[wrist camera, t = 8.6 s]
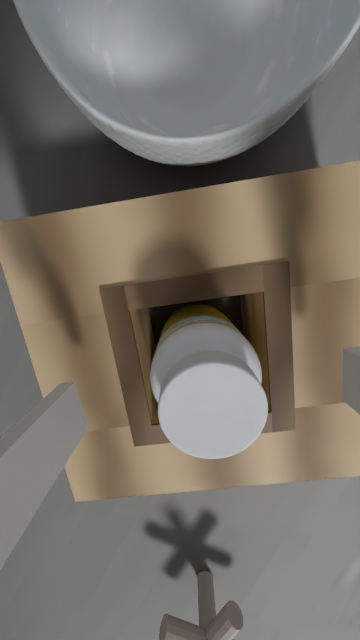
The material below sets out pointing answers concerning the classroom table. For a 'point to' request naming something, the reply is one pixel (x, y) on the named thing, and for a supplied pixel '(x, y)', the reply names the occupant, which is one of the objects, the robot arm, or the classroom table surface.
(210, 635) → the pipe connector
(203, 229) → the seat board
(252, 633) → the classroom table surface
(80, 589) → the classroom table surface
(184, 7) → the cereal bowl
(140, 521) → the classroom table surface
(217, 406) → the pill bottle
